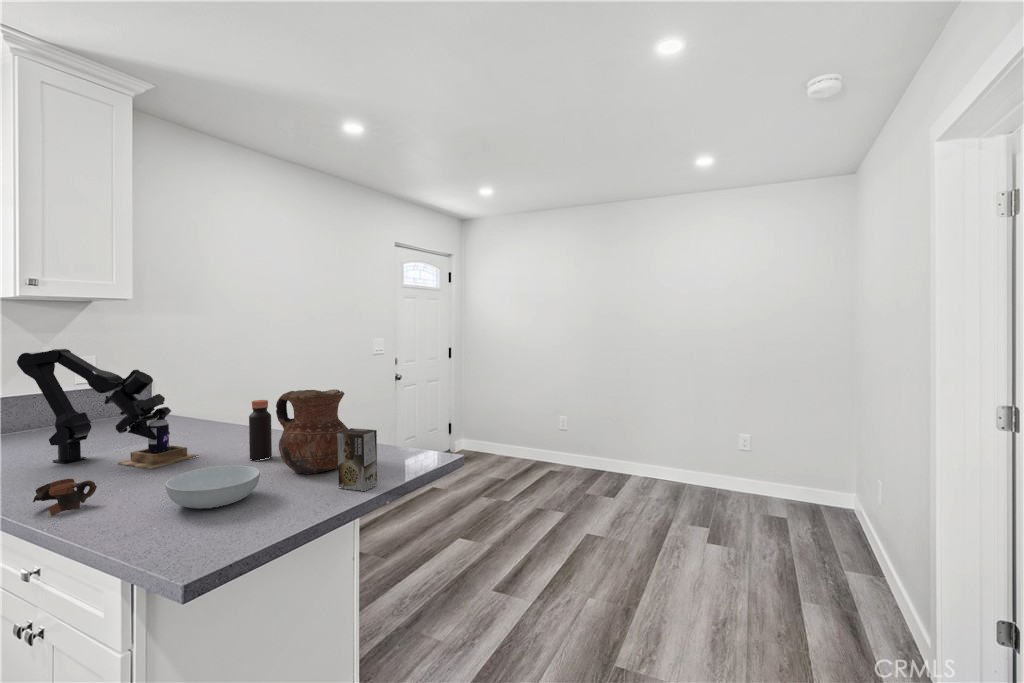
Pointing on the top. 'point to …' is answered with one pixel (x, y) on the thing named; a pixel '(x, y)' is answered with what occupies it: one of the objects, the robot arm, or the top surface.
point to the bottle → (260, 431)
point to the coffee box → (357, 459)
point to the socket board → (158, 457)
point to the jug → (310, 430)
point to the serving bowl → (212, 486)
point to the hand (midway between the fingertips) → (162, 437)
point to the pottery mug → (64, 494)
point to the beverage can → (159, 437)
